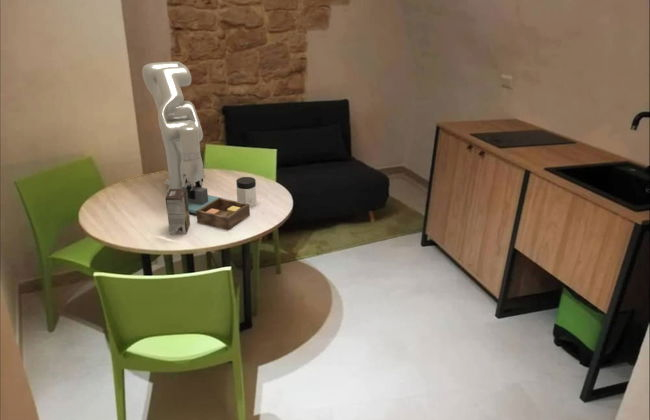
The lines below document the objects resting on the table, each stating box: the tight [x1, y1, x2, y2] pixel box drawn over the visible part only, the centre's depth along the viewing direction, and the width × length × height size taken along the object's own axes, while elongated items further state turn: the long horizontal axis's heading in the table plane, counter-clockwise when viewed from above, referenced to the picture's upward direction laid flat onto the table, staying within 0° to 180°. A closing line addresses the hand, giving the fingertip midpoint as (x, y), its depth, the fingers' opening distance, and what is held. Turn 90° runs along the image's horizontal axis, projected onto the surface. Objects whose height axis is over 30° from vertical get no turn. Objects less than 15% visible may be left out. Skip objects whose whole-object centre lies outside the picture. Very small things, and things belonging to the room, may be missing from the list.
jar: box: [236, 176, 257, 208], centre depth 210 cm, size 9×8×12 cm
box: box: [195, 197, 251, 231], centre depth 198 cm, size 15×15×6 cm
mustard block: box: [227, 206, 240, 217], centre depth 199 cm, size 4×4×4 cm
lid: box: [182, 185, 221, 214], centre depth 207 cm, size 16×16×7 cm
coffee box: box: [165, 189, 191, 235], centre depth 187 cm, size 9×6×16 cm
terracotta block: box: [206, 208, 220, 215], centre depth 196 cm, size 4×4×4 cm
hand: (195, 196), depth 207 cm, fingers closed on lid, 4 cm apart
